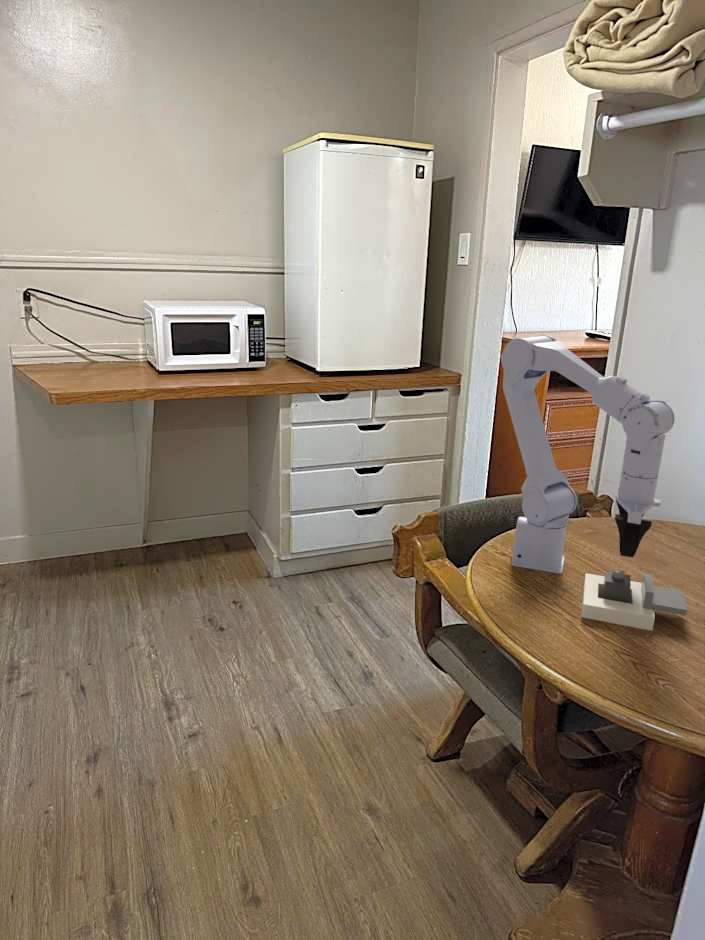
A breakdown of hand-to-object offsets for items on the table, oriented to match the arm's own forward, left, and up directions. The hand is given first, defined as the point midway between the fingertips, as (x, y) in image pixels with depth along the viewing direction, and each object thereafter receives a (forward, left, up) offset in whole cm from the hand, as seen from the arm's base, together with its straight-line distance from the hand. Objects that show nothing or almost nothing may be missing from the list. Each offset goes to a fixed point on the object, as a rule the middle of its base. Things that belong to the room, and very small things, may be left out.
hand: (626, 546), depth 117 cm
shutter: (+7, -5, -7) cm, 11 cm away
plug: (-1, -5, -9) cm, 11 cm away
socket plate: (0, -5, -9) cm, 11 cm away
